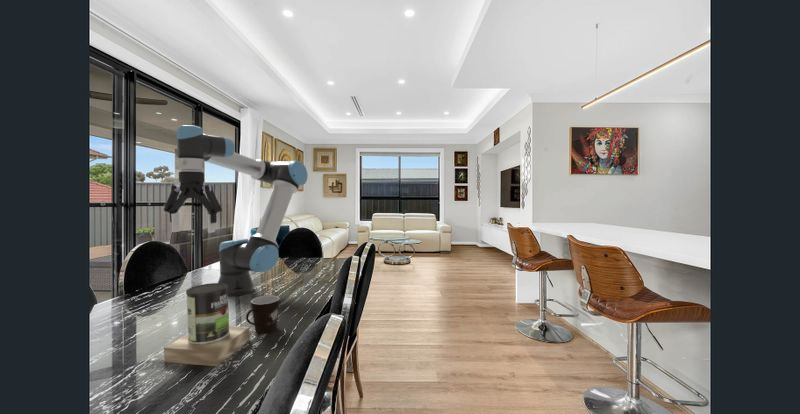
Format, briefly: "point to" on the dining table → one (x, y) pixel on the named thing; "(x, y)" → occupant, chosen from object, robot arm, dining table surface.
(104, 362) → the dining table surface
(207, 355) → the oak riser
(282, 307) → the dining table surface
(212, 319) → the coffee can
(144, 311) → the dining table surface
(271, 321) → the coffee mug
